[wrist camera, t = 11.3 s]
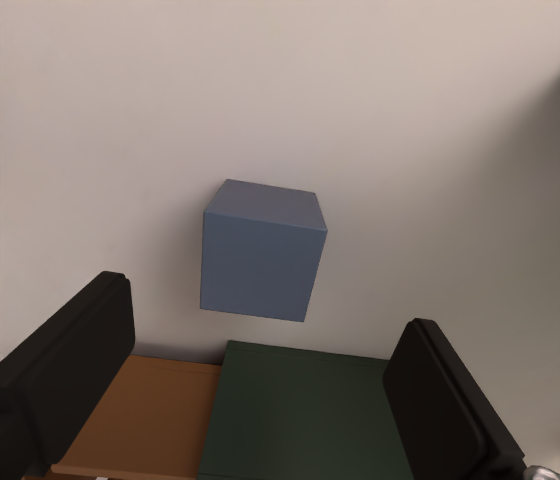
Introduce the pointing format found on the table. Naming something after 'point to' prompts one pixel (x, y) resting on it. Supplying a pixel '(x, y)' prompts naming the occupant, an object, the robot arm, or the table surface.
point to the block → (261, 250)
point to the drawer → (145, 424)
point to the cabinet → (301, 418)
